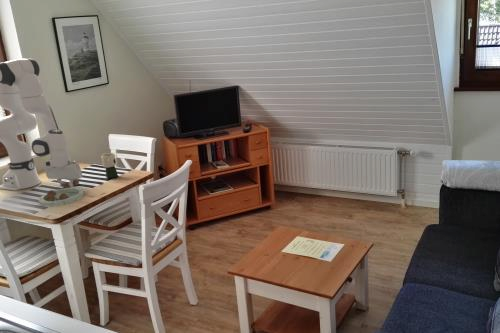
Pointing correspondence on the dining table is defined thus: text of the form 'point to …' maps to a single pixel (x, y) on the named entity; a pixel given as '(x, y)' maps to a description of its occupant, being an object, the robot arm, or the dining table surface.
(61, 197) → the seated bead
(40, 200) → the groove tray
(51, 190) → the seated bead
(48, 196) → the seated bead
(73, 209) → the dining table surface
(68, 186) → the bead
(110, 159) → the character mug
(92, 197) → the dining table surface
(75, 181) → the bead
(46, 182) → the dining table surface
